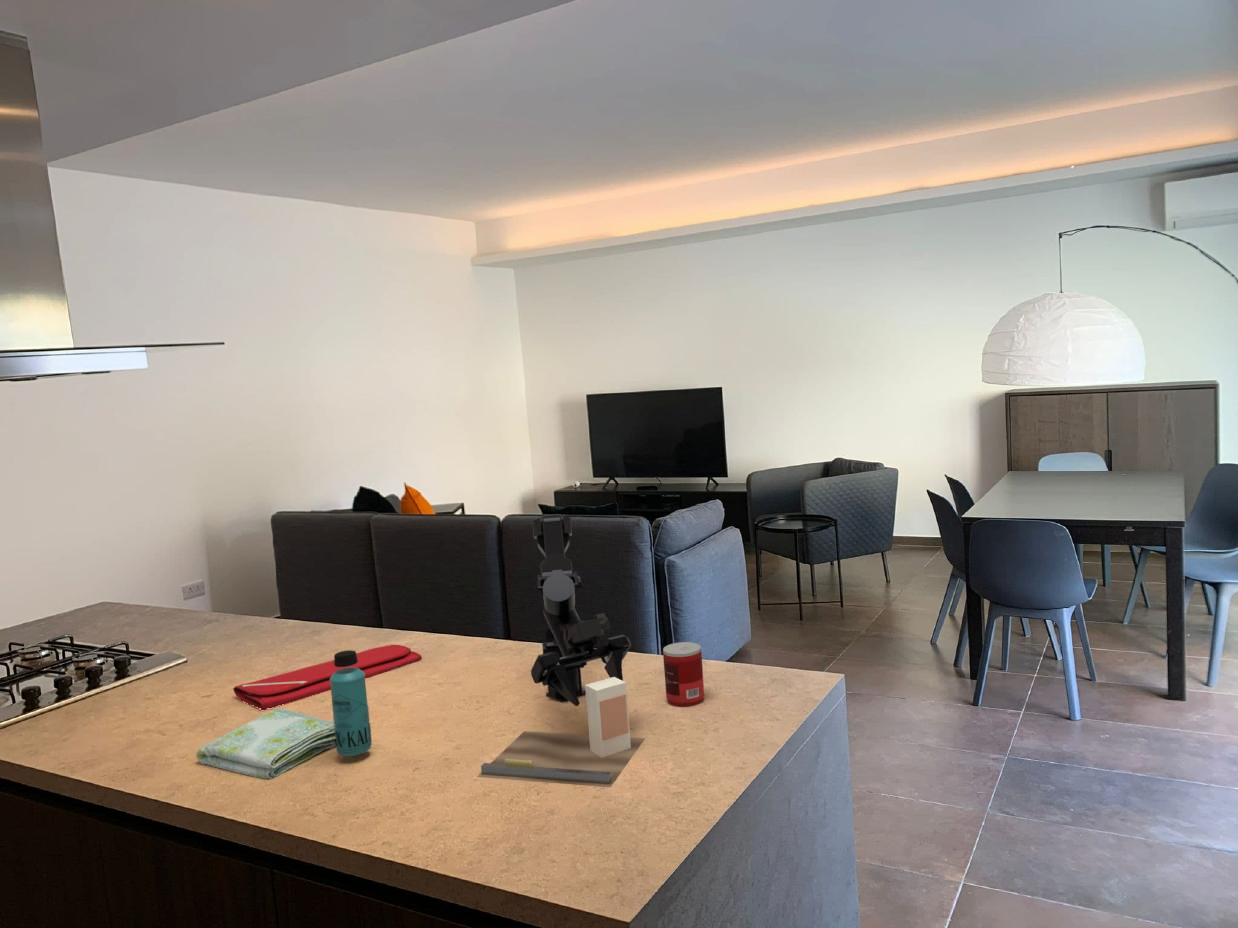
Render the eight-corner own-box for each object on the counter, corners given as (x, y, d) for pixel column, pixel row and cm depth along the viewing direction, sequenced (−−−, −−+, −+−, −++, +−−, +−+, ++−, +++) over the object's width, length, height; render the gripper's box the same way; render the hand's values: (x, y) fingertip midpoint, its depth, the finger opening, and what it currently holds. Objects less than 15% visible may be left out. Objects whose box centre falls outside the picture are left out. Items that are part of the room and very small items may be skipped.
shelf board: (524, 736, 170) (524, 731, 170) (645, 743, 163) (645, 738, 163) (477, 782, 152) (476, 776, 152) (610, 792, 144) (610, 786, 144)
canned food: (709, 694, 185) (706, 642, 184) (696, 708, 178) (692, 654, 177) (675, 691, 188) (671, 640, 187) (660, 705, 181) (656, 652, 180)
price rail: (485, 770, 154) (484, 756, 154) (612, 779, 147) (611, 765, 147) (481, 774, 153) (480, 760, 152) (609, 784, 145) (608, 769, 145)
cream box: (590, 750, 159) (585, 684, 158) (619, 741, 162) (614, 676, 161) (602, 757, 156) (597, 690, 154) (631, 748, 159) (626, 682, 158)
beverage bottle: (341, 751, 170) (330, 648, 168) (376, 747, 170) (366, 645, 168) (333, 766, 163) (321, 659, 161) (370, 762, 164) (359, 655, 162)
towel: (271, 783, 159) (268, 755, 158) (195, 765, 169) (192, 739, 169) (348, 743, 174) (346, 718, 174) (275, 729, 185) (272, 705, 185)
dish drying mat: (423, 662, 224) (422, 647, 224) (263, 714, 195) (261, 697, 195) (389, 652, 235) (388, 638, 235) (233, 699, 206) (231, 684, 206)
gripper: (532, 611, 158) (566, 687, 150) (622, 592, 168) (659, 662, 159) (517, 645, 166) (549, 720, 157) (604, 625, 175) (638, 694, 167)
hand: (600, 698), depth 160 cm, fingers open, 9 cm apart
